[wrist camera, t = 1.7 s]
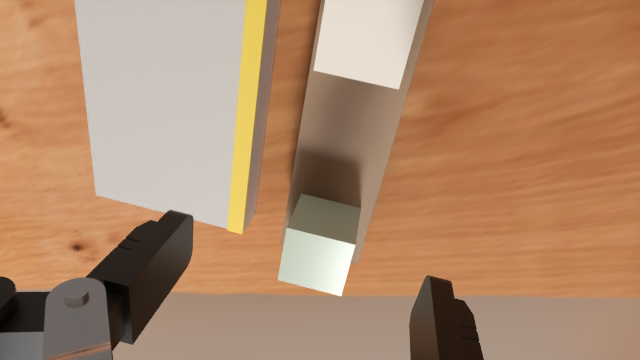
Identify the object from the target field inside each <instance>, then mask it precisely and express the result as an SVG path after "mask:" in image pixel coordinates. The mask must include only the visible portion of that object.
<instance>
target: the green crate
mask: <svg viewBox="0 0 640 360" xmlns="http://www.w3.org/2000/svg"><path fill="white" fill-rule="evenodd" d="M360 212H361V208H358V207H354V206H350V205H346V204H342V203H338V202H334V201H330V200H326V199H322V198H318V197H314V196H310V195H305V194H301V196H300V198H299V200H298V203H297V205H296V207H295V210H294V212H293V214H292V216H291V219H290V221H289V223H288V226H287V229H286V235H285V241H284V246H283V252H282V258H281V264H280V270H279V276H278V280H280V281H284V282H288V283H292V284H296V285H300V286H303V287H307V288H311V289H315V290H319V291H323V292H326V293H330V294H334V295H338V296H341V295H342V291H343V288H344V284H345V281H346V277H347V274H348V270H349V266H350V263H351V259H352V256H353V252H354V248H355V245H356V238H357V232H358V225H359V219H360Z"/></svg>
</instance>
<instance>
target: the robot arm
mask: <svg viewBox="0 0 640 360" xmlns="http://www.w3.org/2000/svg"><path fill="white" fill-rule="evenodd" d="M192 249H193V216H192V215H190V214H186V213H182V212H178V211H174V210H169V211H167V212H166V213H165V215H164V216H163V217H162V218H161V219H160V220H159V221H158V222H156V221H152V220H150V221H148V222H146V223H144V224H142V225H140V226H138V227H136V228H135V229H134V230H133V231H132V232H131V233H130V234H129V235H128V236H127V237H126V239H124V240H123V241H122V242H121V243H120V244H119V245H118V247H117V248H115V249H114V250H113V251H112V252H111V253H110V254H109V255H108V256H107V257H106V258H105V259H104V260H103V261H102V262H101V263H99V264H98V265H97V266H96V267H95V268H94V269H93V270H92V271H91V272H90V273H89V274H88V275H87V276H86V277H85V278H75V279H71V280H68V281H65V282H63V283H61V284H59V285H58V286H56V287H55V288H54V289H53V290H52V291H51V292H17V291H16V288H15V284H14V283H13V281H11V280H10V279H8V278H5V277H0V360H113V354H112V351H113V350H114V348H115V347H116V346H117V344H118V343H119V342H120V341H121V342H125V343H128V344H132V345H133V343H134V342H135V341H136V339H137V338H138V336H139V335H140V334H141V332H142V331H143V329H144V328H145V326H146V325H147V323H148V322H149V321H150V319H151V318H152V316H153V315H154V314H155V312H156V311H157V309H158V308H159V307H160V305H161V304H162V302H163V301H164V299H165V298H166V297H167V295H168V294H169V292H170V291H171V289H172V288H173V287H174V285H175V284H176V282H177V281H178V279H179V278H180V277H181V275H182V274H183V272H184V271H185V269H186V268H187V266H188V264H189V262H190V259H191V256H192ZM409 328H410V352H411V360H484V359H483V355H482V351H481V346H480V343H479V337H478V333H477V331H476V325H475V320H474V315H473V313H472V312H471V311H470V309H469V307H468V306H467V305H466V303H465V301H463V300H459V299H455V298H454V293H453V288H452V283H451V281H448V280H445V279H441V278H437V277H433V276H429V275H427V276H426V278H425V279H424V282H423V284H422V287H421V289H420V292H419V294H418V296H417V299H416V301H415V304H414V306H413V309H412V312H411V318H410V325H409Z"/></svg>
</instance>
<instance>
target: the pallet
mask: <svg viewBox="0 0 640 360" xmlns="http://www.w3.org/2000/svg"><path fill="white" fill-rule="evenodd" d="M434 1H435V0H424V2H423V5H422V9H421V12H420V16H419V19H418V23H417V27H416V30H415V34H414V37H413V41H412V44H411V48H410V52H409V55H408V59H407V62H406V66H405V70H404V73H403V77H402V80H401V84H400V87H399V90H398V89H394V88H389V87H385V86H380V85H376V84H371V83H367V82H363V81H358V80H354V79H349V78H345V77H340V76H336V75H331V74H327V73H322V72H318V71H313V69H314V64H315V58H316V52H317V46H318V40H319V34H320V28H321V22H322V16H323V10H324V5H325V0H321V3H320V9H319V16H318V22H317V28H316V34H315V40H314V46H313V52H312V58H311V64H310V70H309V76H308V82H307V88H306V94H305V100H304V107H303V113H302V119H301V125H300V131H299V137H298V143H297V149H296V155H295V161H294V167H293V173H292V179H291V185H290V191H289V198H288V204H287V210H286V216H285V222H284V228H283V234H282V240H281V245H284V241H285V235H286V229H287V226H288V223H289V221H290V219H291V216H292V214H293V212H294V210H295V207H296V205H297V203H298V200H299V198H300V196H301V194H305V195H310V196H314V197H318V198H322V199H326V200H330V201H334V202H338V203H342V204H346V205H350V206H354V207H358V208H361V212H360V219H359V225H358V232H357V238H356V245H355V248H354V252H353V256H352V259H351V262H352V263H356V264H358V262H359V258H360V255H361V251H362V248H363V244H364V241H365V238H366V234H367V231H368V227H369V224H370V220H371V217H372V214H373V210H374V207H375V203H376V200H377V196H378V193H379V190H380V186H381V183H382V179H383V176H384V172H385V169H386V166H387V162H388V159H389V155H390V152H391V148H392V145H393V142H394V138H395V135H396V131H397V128H398V124H399V121H400V118H401V114H402V111H403V107H404V104H405V100H406V97H407V93H408V90H409V87H410V83H411V80H412V76H413V73H414V69H415V66H416V63H417V59H418V56H419V52H420V49H421V45H422V42H423V39H424V35H425V32H426V28H427V25H428V21H429V18H430V15H431V11H432V8H433V4H434Z"/></svg>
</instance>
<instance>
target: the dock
mask: <svg viewBox="0 0 640 360" xmlns="http://www.w3.org/2000/svg"><path fill="white" fill-rule="evenodd" d="M280 5H281V0H75V10H76V19H77V28H78V37H79V46H80V55H81V64H82V73H83V82H84V91H85V101H86V110H87V119H88V128H89V137H90V146H91V155H92V164H93V173H94V183H95V192H96V195H98V196H102V197H105V198H109V199H113V200H117V201H121V202H125V203H129V204H133V205H137V206H141V207H145V208H149V209H152V210H156V211H160V212H164V213H166V212H167V211H169V210H174V211H178V212H182V213H186V214H190V215H192V216H193V220H195V221H199V222H203V223H207V224H211V225H215V226H219V227H223V228H227V230H228V231H232V232H236V233H240V234H243V232H244V231H245V229H246V227H247V226H248V224H249V222H250V221H251V219H252V217H253V216H254V214H255V212H256V205H257V196H258V188H259V180H260V171H261V163H262V155H263V146H264V138H265V130H266V122H267V113H268V105H269V97H270V88H271V80H272V72H273V63H274V55H275V47H276V38H277V30H278V22H279V14H280Z"/></svg>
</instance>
